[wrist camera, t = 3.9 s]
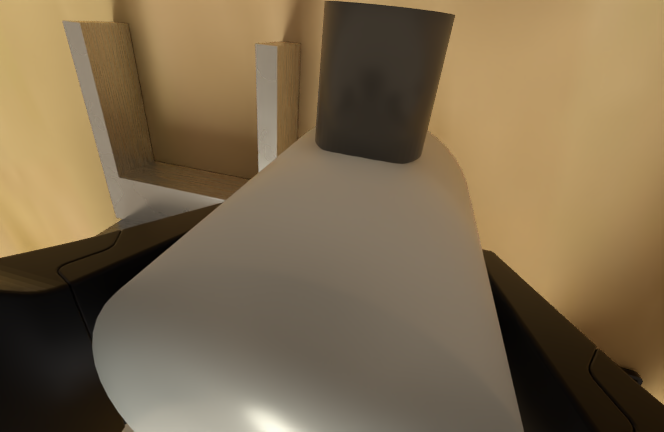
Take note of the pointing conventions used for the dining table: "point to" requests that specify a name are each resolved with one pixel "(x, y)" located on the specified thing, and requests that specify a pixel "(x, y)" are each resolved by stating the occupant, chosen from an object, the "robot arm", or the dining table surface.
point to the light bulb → (326, 271)
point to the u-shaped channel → (132, 131)
